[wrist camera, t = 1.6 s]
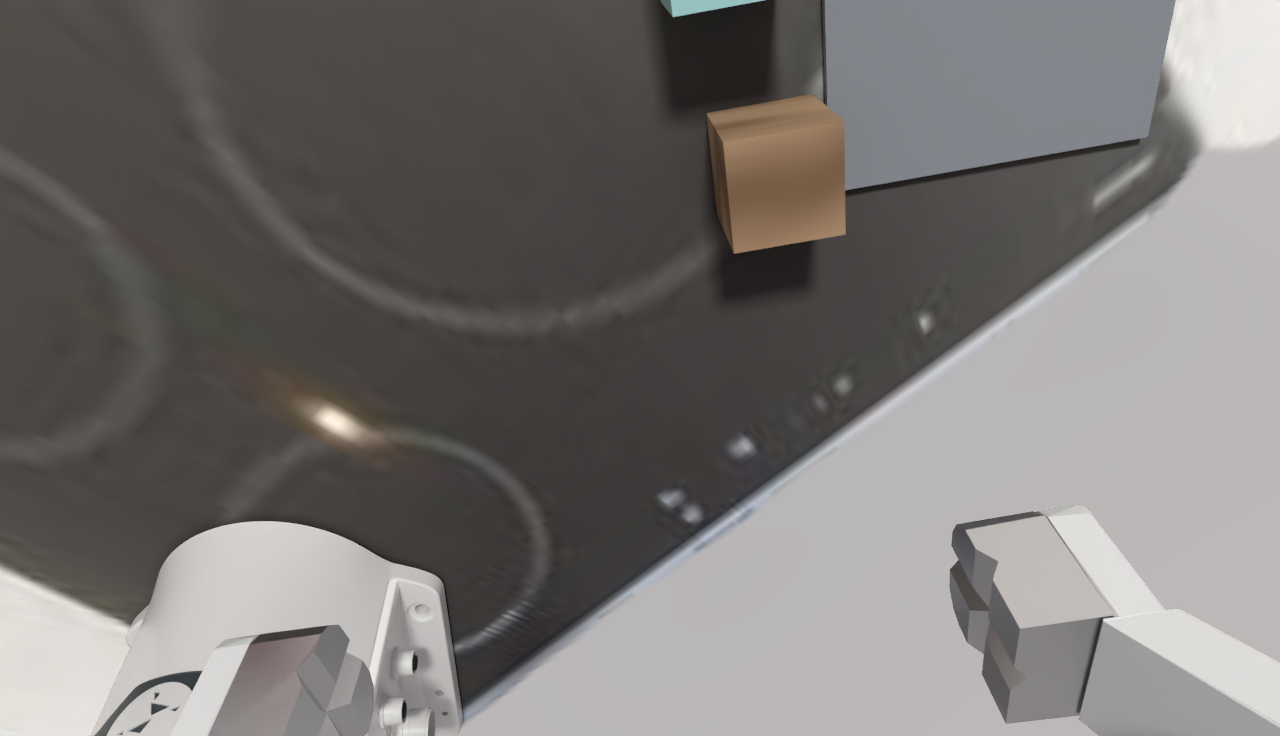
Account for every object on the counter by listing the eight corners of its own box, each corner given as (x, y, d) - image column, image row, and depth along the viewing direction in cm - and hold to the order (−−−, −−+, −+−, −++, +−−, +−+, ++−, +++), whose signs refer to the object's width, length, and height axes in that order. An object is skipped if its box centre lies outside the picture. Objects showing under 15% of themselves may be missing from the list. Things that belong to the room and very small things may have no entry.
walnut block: (815, 196, 34) (845, 234, 30) (716, 213, 34) (733, 253, 30) (812, 93, 32) (844, 121, 28) (705, 112, 32) (723, 142, 28)
